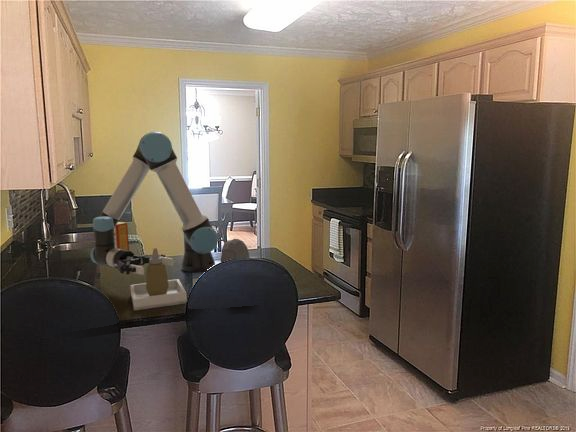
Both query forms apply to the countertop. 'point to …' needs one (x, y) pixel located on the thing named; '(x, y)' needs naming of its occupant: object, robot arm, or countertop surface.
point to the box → (158, 296)
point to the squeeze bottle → (156, 276)
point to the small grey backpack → (234, 250)
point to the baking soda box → (121, 236)
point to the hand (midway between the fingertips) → (158, 266)
